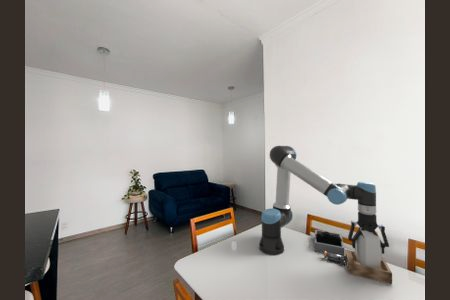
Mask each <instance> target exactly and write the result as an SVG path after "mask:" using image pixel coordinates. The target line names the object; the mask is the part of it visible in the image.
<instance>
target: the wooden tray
mask: <svg viewBox="0 0 450 300" xmlns="http://www.w3.org/2000/svg"><path fill="white" fill-rule="evenodd" d="M344 250H345V257H346V261H345V262H346V267H347V270H348V271H347V272H348V274H349V275H353V276H357V277H361V278H365V279H370V280H373V281H378V282H382V283H386V284H390V285H393V273H392V271H391V268H390V267H389V265H388V263H387V262H386V260H385V258H384V257H383V256H382V261H381V269H376V268H372V267H367V266H362V265H361V264H360V263H359V262H358V261H357V257H356V255H355V250H350V249H346V248H344Z"/></svg>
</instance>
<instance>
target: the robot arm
mask: <svg viewBox="0 0 450 300" xmlns="http://www.w3.org/2000/svg"><path fill="white" fill-rule="evenodd" d="M269 159H270V161H271V162H272V163H273V164H274V165H275V167H276V169H277V170H276V171H277V172H276V184H275V185H276V188H275V189H276V190H275V202H273V203H272V208H267V209H266V208H265V209H264V210H262V212H261V218H260V219H261V237H260V240H259V242H258V243H259V244H258V245H259V246H258V249H259V250H260V251H261V252H262V253H265V254H267V255H271V256H277V255H281V254H283V253H284V252H285V245H284V242H283V240H282V228H283V227H285V226H286V225H289V224H290V223H291V222H292V220H293V217H294V213H293V211H292V209H291V208H292V206H291V205H290V203H289V202H290V201H289V200H290V188H291V187H290V186H291V174H292V175H294V176H296V177H297V178H298V179H300V180H301V181H303V183H305V184H307V185H309V186H311V187H312V188H313V189H315V190H316V191H317V192H319V193H321V194H322V195H324V197H326V198H327V200H328V201H329V202H330V203H332V204H333V205H342V204H344V203H345V202H347V200H356V201H357V211H358V212H357V221H354V220H351V221H350V229H349V231H348V236H347V239H348V241H349V242H351V245H352V246H351V247H352V249H354V251H355V255H356V256H357V242H356V240H357V239H358V237H359V236H360V235H361V233H362V232H361V230H362V231H364V230H365V231H368V232H373V233H374V235H376V236H379V234H378V232H377V231H376V230H377V228H378V229H379V231H380V234H381V236H382V239H383V242H382V240H381V239H380V252H381V261H382V257H383V254H385V249H386V248H389V247H390V245H389V241H388V237H387V235H386V232H385V229H386V227H385V226H384V225H383V224H378V221H377V190H376V189H377V187H376V184H375V183H373V182H370V181H358V182H357V184H344V183H333V182H332V181H330V180H329V179H327V178H325V177H324V176H323V175H321V174H319V173H317V172H316V171H314V170H312V169H311V168H310V167H308V166H306V165H304V164H303V163H301V162H300V161H298V160H296V159H297V151H296V150H295V148H293V146H290V145H275V146H273V147H272V148H271V150H270V151H269ZM356 226H358V229H357V231H358V232H357V231H355V227H356ZM360 227H362V228H361V230H360ZM354 231H355V234H354ZM375 231H376V232H375ZM377 234H378V235H377Z"/></svg>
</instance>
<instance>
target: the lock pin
mask: <svg viewBox="0 0 450 300" xmlns="http://www.w3.org/2000/svg"><path fill="white" fill-rule="evenodd" d="M328 257H329V258H334V259H338V260H340V258H344V262H346V257H345V256H343V255H338V254H333V253H328V252H327V251H324V253H323V258H324V259H328Z"/></svg>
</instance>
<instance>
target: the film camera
mask: <svg viewBox="0 0 450 300" xmlns="http://www.w3.org/2000/svg"><path fill="white" fill-rule="evenodd" d="M329 232H330V231H326V232H323V233H321V234H320V233H318V234H315V233H314V237H315V236H316V239H317V242H318V243H324V244H329V245H334V246H340V247H341V242H342V240H343V238H342V239H341V238H340V236H337V235H336V234H335V235H331V234H330V233H329Z"/></svg>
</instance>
